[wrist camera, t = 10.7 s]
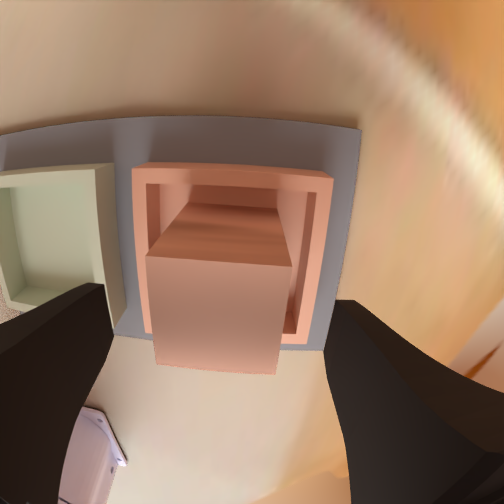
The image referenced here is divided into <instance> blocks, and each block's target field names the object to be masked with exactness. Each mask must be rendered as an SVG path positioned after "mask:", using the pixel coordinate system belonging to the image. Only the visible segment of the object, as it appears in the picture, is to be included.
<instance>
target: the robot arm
mask: <svg viewBox="0 0 504 504" xmlns="http://www.w3.org/2000/svg"><path fill="white" fill-rule="evenodd" d="M113 338H114V333H113V328H112V323H111V318H110V313H109V308H108V303H107V297H106V291H105V285H104V284H99V283H90V282H88V283H85V284H82V285H80V286H77V287H75V288H73V289H71V290H69V291H67V292H65V293H63V294H61V295H59V296H57V297H55V298H53V299H51V300H49V301H47V302H45V303H44V304H42V305H40V306H38V307H36V308H34V309H32V310H30V311H28V312H25V313H23V314H21V315H19V316H17V317H15V318H13V319H11V320H9V321H7V322H4V323H2V324H0V504H106V503H107V499H108V496H109V492H110V489H111V486H112V482H113V479H114V476H115V472H116V469H117V466H118V465H121V466H127V461H126V459H125V457H124V455H123V453H122V451H121V449H120V447H119V445H118V443H117V441H116V439H115V437H114V435H113V432H112V430H111V428H110V426H109V424H108V421H107V419H106V417H105V415H104V413H102V412H101V411H98V410H94V409H90V408H86V407H83V404H84V402H85V400H86V398H87V396H88V394H89V392H90V390H91V388H92V386H93V384H94V382H95V380H96V378H97V376H98V374H99V372H100V371H101V369H102V367H103V365H104V363H105V361H106V358H107V355H108V352H109V350H110V347H111V344H112V341H113ZM323 353H324V360H325V368H326V374H327V380H328V383H329V387H330V390H331V394H332V398H333V401H334V405H335V408H336V412H337V415H338V419H339V422H340V426H341V430H342V433H343V438H344V442H345V447H346V454H347V462H348V470H349V479H350V490H351V504H504V393H502V392H499V391H496V390H494V389H491V388H489V387H486V386H483V385H481V384H479V383H477V382H475V381H473V380H471V379H469V378H467V377H464V376H462V375H460V374H459V373H457V372H455V371H453V370H451V369H449V368H448V367H446V366H444V365H443V364H441V363H439V362H437V361H436V360H434V359H433V358H431V357H429V356H428V355H426V354H425V353H423V352H422V351H421V350H419V349H418V348H416V347H415V346H414V345H412V344H411V343H409V342H408V341H407V340H405V339H404V338H403V337H401V336H400V335H399V334H397V333H396V332H395V331H394V330H392V329H391V328H390V327H388V326H387V325H386V324H385V323H384V322H382V321H381V320H380V319H379V318H377V317H376V316H375V315H374V314H372V313H371V312H370V311H369V310H367V309H366V308H365V307H363V306H362V305H361V304H359V303H358V302H356V301H355V300H335V304H334V309H333V313H332V318H331V322H330V326H329V330H328V334H327V339H326V343H325V347H324V351H323Z"/></svg>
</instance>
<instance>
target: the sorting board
mask: <svg viewBox="0 0 504 504" xmlns="http://www.w3.org/2000/svg"><path fill="white" fill-rule="evenodd" d="M361 133H362V130H359V129H353V128H346V127H340V126H333V125H326V124H318V123H310V122H301V121H291V120H281V119H269V118H254V117H236V116H147V117H129V118H115V119H103V120H93V121H84V122H76V123H68V124H61V125H54V126H47V127H41V128H35V129H30V130H24V131H19V132H14V133H10V134H5V135H0V286H1V290H2V293H3V296H4V299H5V303H6V306H7V308H9V309H14V310H18V311H20V314H23V313H25V312H28V311H30V310H32V309H34V308H36V307H38V306H40V305H42V304H44V303H45V302H47V301H49V300H51V299H53V298H55V297H57V296H59V295H61V294H63V293H65V292H67V291H69V290H71V289H73V288H75V287H77V286H80V285H82V284H85V283H88V282H90V283H99V284H104V285H105V291H106V297H107V303H108V308H109V313H110V318H111V323H112V328H113V333H114V335H119V336H126V337H133V338H140V339H148V340H153V335H152V326H151V318H150V309H149V299H148V288H147V276H146V263H145V255H146V254H147V253H148V251H149V250H150V249H151V247H152V246H153V245H154V244H155V242H156V241H157V240H158V238H159V237H160V236H161V235H162V233H163V232H164V231H165V230H166V228H167V227H168V226H169V225H170V223H171V222H172V221H173V220H174V218H175V217H176V216H177V215H178V214H179V212H180V211H181V210H182V209H183V207H184V206H185V205H186V204H187V203H205V204H222V205H236V206H250V207H263V208H276V209H277V210H278V214H279V217H280V221H281V225H282V228H283V232H284V236H285V240H286V243H287V247H288V251H289V255H290V259H291V263H292V266H293V268H292V275H291V282H290V288H289V295H288V301H287V308H286V314H285V321H284V327H283V333H282V339H281V345H280V350H306V351H323V349H324V345H325V341H326V337H327V333H328V329H329V324H330V320H331V316H332V312H333V307H334V303H335V298H336V293H337V289H338V284H339V279H340V274H341V269H342V264H343V258H344V253H345V248H346V242H347V236H348V230H349V224H350V218H351V212H352V205H353V198H354V191H355V184H356V177H357V169H358V161H359V152H360V143H361Z"/></svg>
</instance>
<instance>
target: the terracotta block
mask: <svg viewBox="0 0 504 504" xmlns="http://www.w3.org/2000/svg"><path fill="white" fill-rule="evenodd" d="M145 263H146V276H147V288H148V299H149V309H150V318H151V326H152V335H153V342H154V350H155V357H156V363H157V364H159V365H166V366H174V367H182V368H190V369H200V370H210V371H221V372H234V373H249V374H269V375H275V373H276V368H277V362H278V356H279V351H280V345H281V339H282V333H283V327H284V321H285V314H286V308H287V301H288V295H289V288H290V282H291V275H292V268H293V266H292V263H291V259H290V255H289V251H288V247H287V243H286V240H285V236H284V232H283V228H282V225H281V221H280V217H279V214H278V210H277V209H276V208H263V207H250V206H236V205H222V204H205V203H187V204H186V205H185V206H184V207H183V209H182V210H181V211H180V212H179V214H178V215H177V216H176V217H175V218H174V220H173V221H172V222H171V223H170V225H169V226H168V227H167V228H166V230H165V231H164V232H163V233H162V235H161V236H160V237H159V238H158V240H157V241H156V242H155V244H154V245H153V246H152V247H151V249H150V250H149V251H148V253H147V254H146V255H145Z"/></svg>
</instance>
